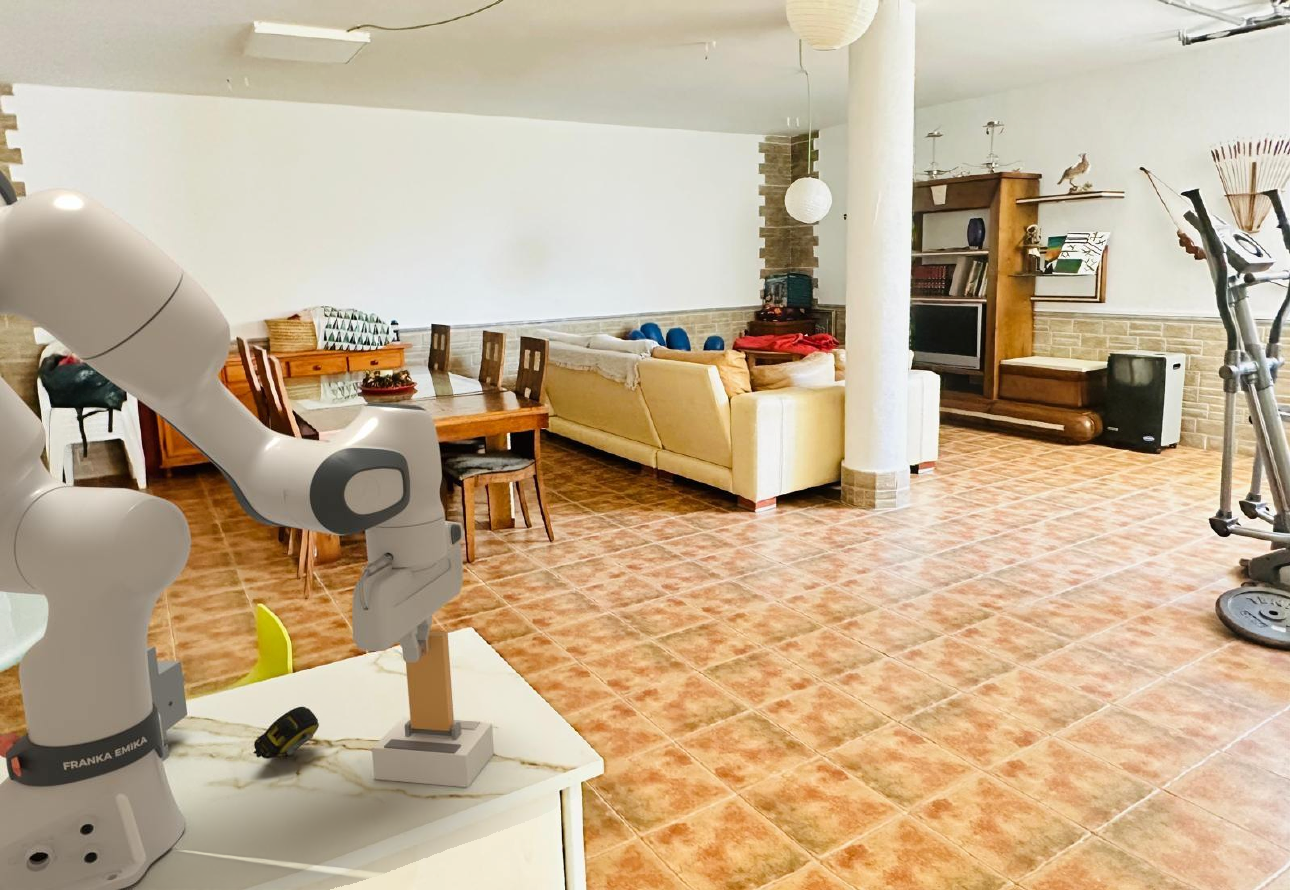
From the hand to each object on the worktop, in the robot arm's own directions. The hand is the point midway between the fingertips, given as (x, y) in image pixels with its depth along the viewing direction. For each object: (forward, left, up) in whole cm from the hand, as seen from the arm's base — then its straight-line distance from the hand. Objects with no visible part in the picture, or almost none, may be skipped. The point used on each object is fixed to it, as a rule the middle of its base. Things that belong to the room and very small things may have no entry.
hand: (416, 657), depth 102 cm
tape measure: (-11, +16, -15) cm, 24 cm away
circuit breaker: (-25, +30, -15) cm, 42 cm away
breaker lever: (+2, +2, -11) cm, 11 cm away
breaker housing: (+2, +2, -15) cm, 15 cm away
